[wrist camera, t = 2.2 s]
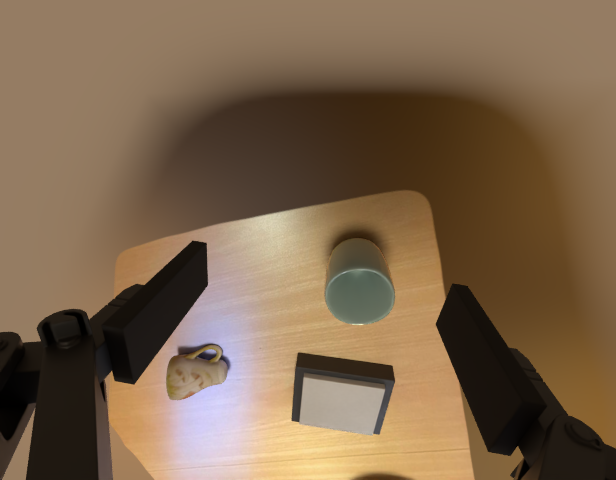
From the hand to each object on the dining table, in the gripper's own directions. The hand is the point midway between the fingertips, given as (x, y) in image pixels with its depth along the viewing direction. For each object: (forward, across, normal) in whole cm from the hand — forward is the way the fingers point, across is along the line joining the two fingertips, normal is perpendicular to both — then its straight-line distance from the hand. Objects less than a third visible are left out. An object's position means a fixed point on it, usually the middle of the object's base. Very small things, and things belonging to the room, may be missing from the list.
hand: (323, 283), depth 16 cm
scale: (+24, +7, -37) cm, 44 cm away
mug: (+24, -18, -36) cm, 47 cm away
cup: (+24, +5, -10) cm, 26 cm away
